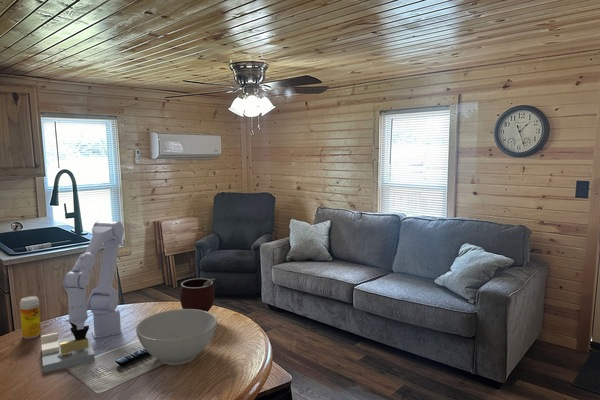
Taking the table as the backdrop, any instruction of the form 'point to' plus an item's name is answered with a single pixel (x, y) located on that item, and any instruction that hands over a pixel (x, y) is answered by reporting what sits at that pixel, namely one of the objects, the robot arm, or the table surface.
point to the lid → (49, 343)
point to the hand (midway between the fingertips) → (79, 341)
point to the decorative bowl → (176, 334)
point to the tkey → (73, 345)
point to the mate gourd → (197, 294)
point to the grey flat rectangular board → (67, 357)
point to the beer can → (30, 317)
